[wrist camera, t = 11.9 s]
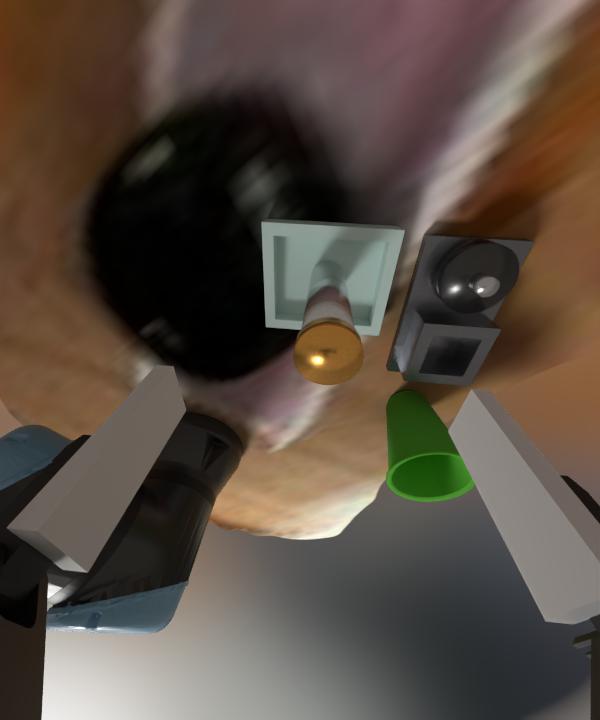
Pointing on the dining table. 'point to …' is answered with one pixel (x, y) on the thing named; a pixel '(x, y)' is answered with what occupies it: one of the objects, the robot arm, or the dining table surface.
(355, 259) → the tray
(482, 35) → the dining table surface
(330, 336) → the pin
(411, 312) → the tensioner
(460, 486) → the cup
